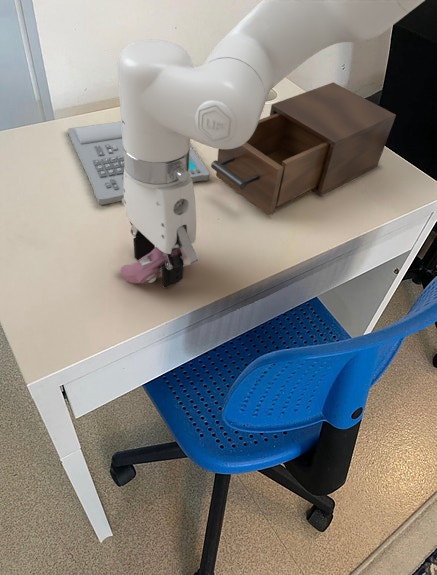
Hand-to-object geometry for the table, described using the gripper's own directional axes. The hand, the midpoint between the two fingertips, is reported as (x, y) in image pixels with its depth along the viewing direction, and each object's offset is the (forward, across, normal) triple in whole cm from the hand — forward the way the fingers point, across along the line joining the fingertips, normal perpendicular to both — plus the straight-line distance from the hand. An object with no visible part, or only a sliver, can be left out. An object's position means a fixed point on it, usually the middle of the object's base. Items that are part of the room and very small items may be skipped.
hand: (158, 268), depth 70 cm
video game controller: (+1, 0, 0) cm, 1 cm away
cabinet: (+1, +6, -42) cm, 42 cm away
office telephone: (+1, +26, -14) cm, 30 cm away
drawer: (0, +6, -27) cm, 28 cm away
